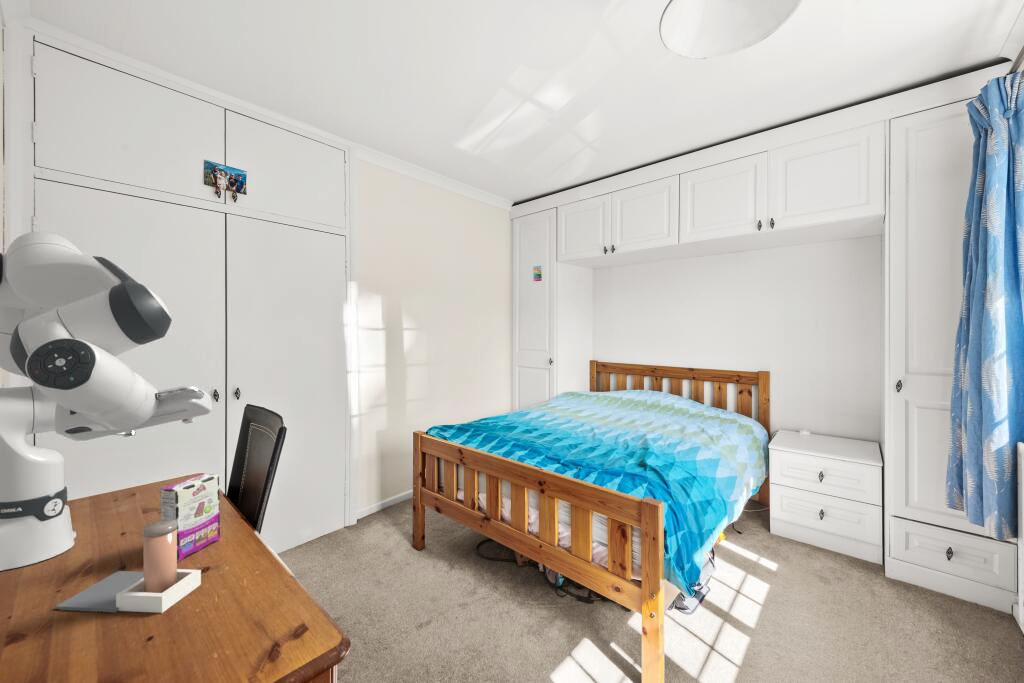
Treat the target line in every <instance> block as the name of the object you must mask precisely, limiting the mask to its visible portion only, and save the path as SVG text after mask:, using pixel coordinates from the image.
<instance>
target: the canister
mask: <svg viewBox="0 0 1024 683" xmlns="http://www.w3.org/2000/svg"><path fill="white" fill-rule="evenodd" d="M142 536H143V572H144V592H147V593H163V592H164V591H166V590H167V589H169V588H170V587H172V586H173V585H175V584H176V583H177V569H178V562H177V521H176V520H164V521H161V520H159V521H156V522H152V523H149V524H147V525H146V526H144V527H143V528H142Z"/></svg>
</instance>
